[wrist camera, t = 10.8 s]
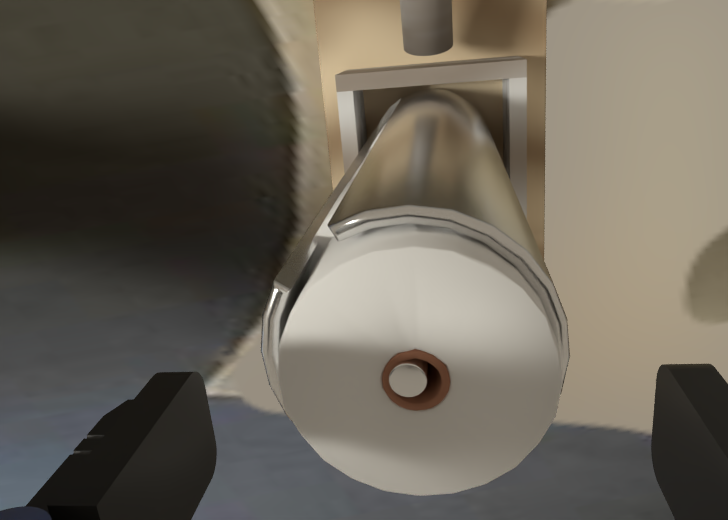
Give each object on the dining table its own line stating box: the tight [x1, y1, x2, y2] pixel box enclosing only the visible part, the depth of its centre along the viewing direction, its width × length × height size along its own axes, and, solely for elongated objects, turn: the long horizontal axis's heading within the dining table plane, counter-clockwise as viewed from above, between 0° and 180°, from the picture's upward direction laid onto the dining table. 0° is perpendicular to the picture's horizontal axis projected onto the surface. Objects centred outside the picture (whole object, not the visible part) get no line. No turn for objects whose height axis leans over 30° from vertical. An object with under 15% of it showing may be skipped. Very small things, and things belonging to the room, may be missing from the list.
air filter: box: [261, 88, 570, 496], centre depth 24 cm, size 6×6×25 cm
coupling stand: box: [313, 0, 547, 260], centre depth 33 cm, size 26×12×8 cm, turn 5°
